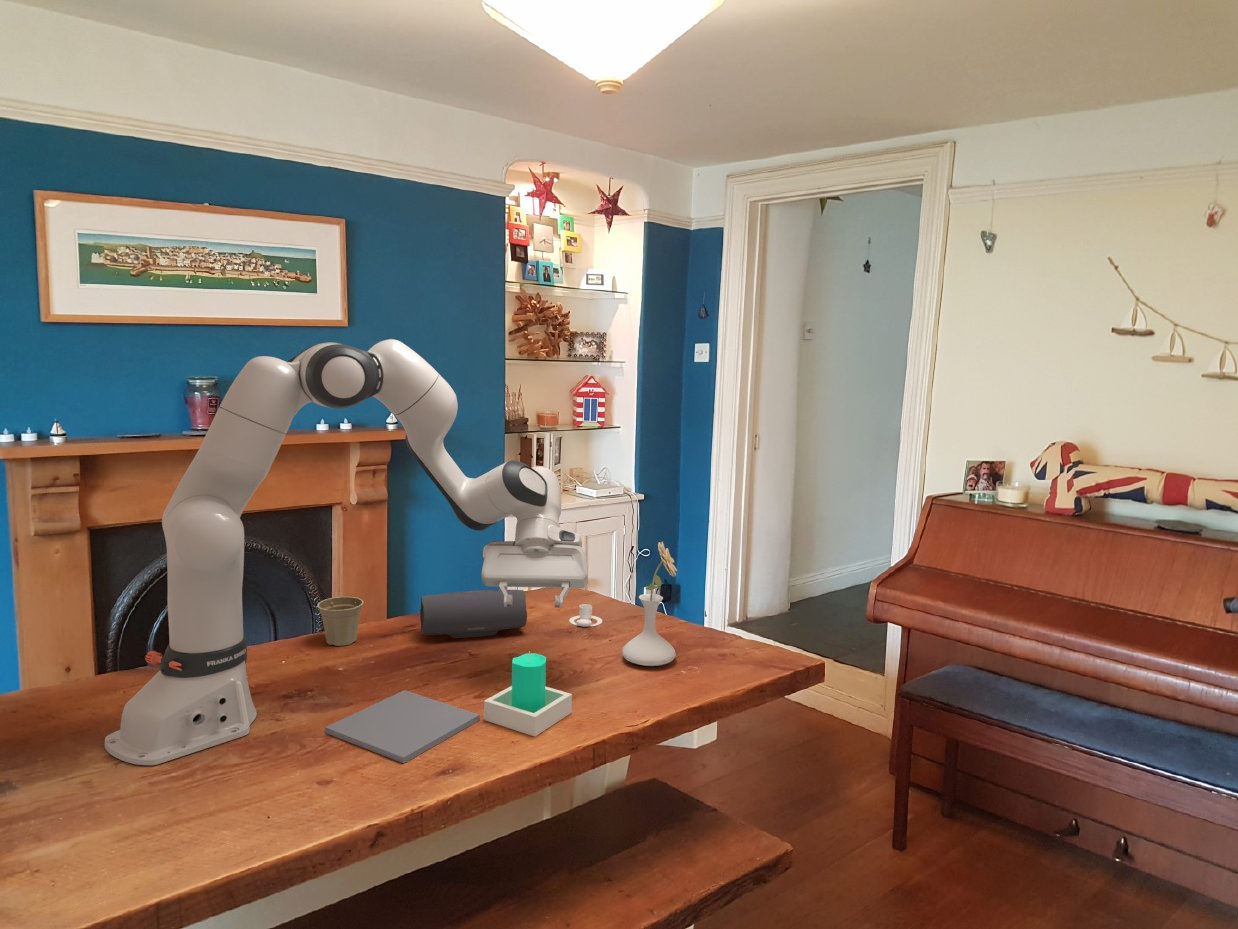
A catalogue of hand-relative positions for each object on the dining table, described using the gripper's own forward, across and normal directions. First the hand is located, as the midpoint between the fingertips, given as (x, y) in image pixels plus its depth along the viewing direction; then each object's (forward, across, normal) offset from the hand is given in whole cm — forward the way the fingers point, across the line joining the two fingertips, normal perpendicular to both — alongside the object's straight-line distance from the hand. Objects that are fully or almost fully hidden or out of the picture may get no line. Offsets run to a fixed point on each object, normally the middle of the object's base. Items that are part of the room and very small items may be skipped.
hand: (533, 606), depth 152 cm
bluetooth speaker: (-9, -15, +34) cm, 38 cm away
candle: (+19, 0, +5) cm, 20 cm away
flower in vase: (0, +24, +24) cm, 34 cm away
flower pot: (-5, -43, +30) cm, 52 cm away
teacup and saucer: (-16, +7, +40) cm, 44 cm away
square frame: (+19, 0, +4) cm, 20 cm away
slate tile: (+22, -21, +1) cm, 31 cm away
